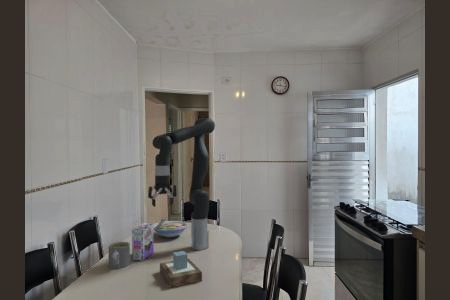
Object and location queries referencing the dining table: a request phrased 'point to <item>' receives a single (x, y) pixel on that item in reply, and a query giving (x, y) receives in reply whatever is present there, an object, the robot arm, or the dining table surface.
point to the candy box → (142, 241)
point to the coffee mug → (119, 255)
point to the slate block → (180, 260)
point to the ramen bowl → (169, 228)
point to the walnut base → (180, 274)
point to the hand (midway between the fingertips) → (162, 205)
